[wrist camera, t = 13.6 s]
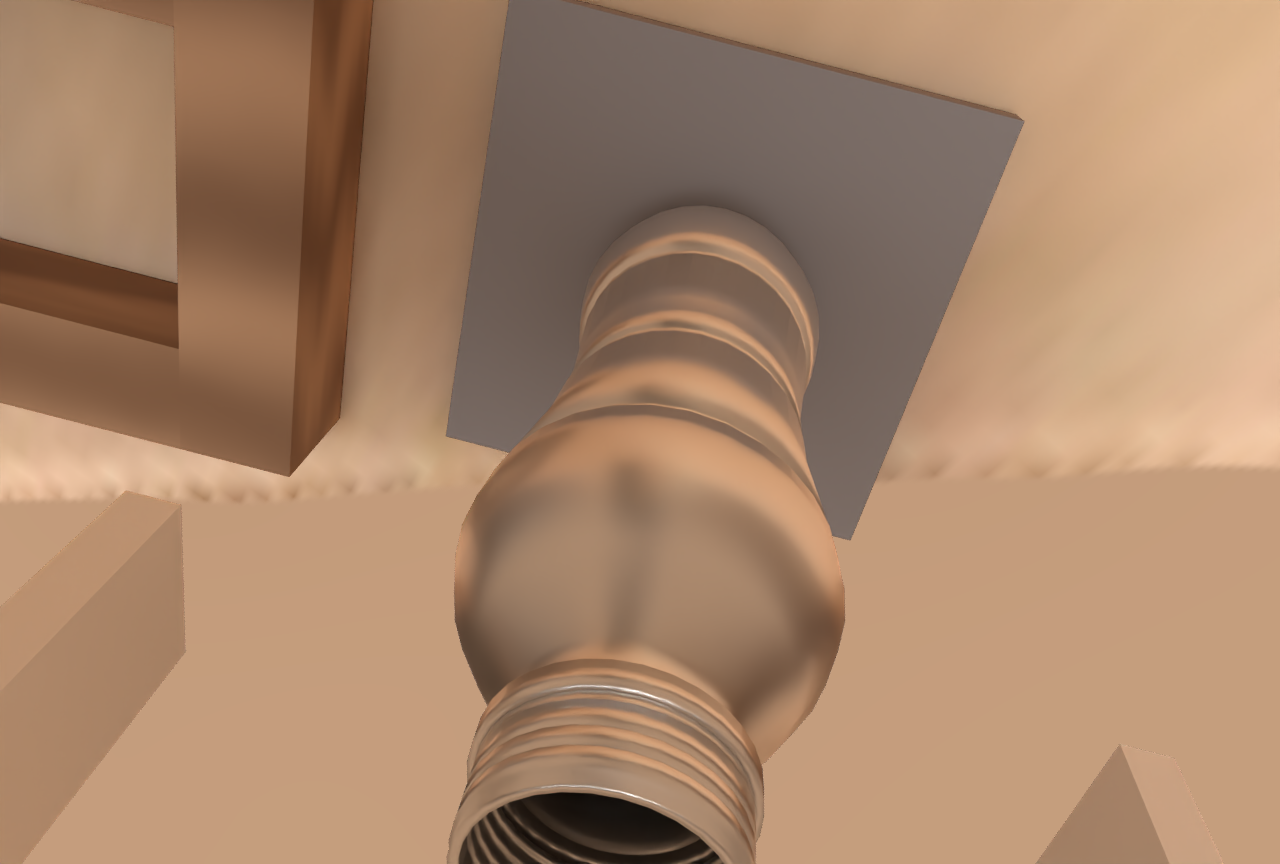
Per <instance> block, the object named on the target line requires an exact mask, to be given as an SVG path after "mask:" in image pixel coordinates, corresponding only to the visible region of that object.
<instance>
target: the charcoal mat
mask: <svg viewBox="0 0 1280 864" xmlns="http://www.w3.org/2000/svg"><path fill="white" fill-rule="evenodd" d="M1023 124H1024V121H1023V120H1022V119H1021V118H1020V117H1018V116H1017V115H1016V114H1012V113H1008V112H1004V111H1000V110H996V109H993V108H989V107H985V106H981V105H977V104H973V103H970V102H966V101H962V100H958V99H954V98H950V97H947V96H943V95H939V94H935V93H931V92H927V91H924V90H920V89H916V88H912V87H908V86H904V85H901V84H897V83H893V82H889V81H885V80H881V79H878V78H874V77H870V76H866V75H862V74H858V73H854V72H851V71H847V70H843V69H839V68H835V67H831V66H828V65H824V64H820V63H816V62H812V61H808V60H805V59H801V58H797V57H793V56H789V55H785V54H782V53H778V52H774V51H770V50H766V49H762V48H759V47H755V46H751V45H747V44H743V43H739V42H736V41H732V40H728V39H724V38H720V37H716V36H713V35H709V34H705V33H701V32H697V31H693V30H689V29H686V28H682V27H678V26H674V25H670V24H666V23H663V22H659V21H655V20H651V19H647V18H643V17H640V16H636V15H632V14H628V13H624V12H620V11H617V10H613V9H609V8H605V7H601V6H597V5H594V4H590V3H586V2H582V1H578V0H509V4H508V11H507V18H506V25H505V32H504V39H503V46H502V53H501V60H500V66H499V73H498V80H497V87H496V94H495V101H494V108H493V115H492V122H491V129H490V135H489V142H488V149H487V156H486V163H485V170H484V177H483V184H482V191H481V198H480V204H479V211H478V218H477V225H476V232H475V239H474V246H473V253H472V260H471V267H470V273H469V280H468V287H467V294H466V301H465V308H464V315H463V322H462V329H461V336H460V342H459V349H458V356H457V363H456V370H455V377H454V384H453V391H452V398H451V405H450V411H449V418H448V425H447V432H446V436H447V437H451V438H455V439H458V440H462V441H466V442H470V443H474V444H478V445H482V446H486V447H489V448H493V449H497V450H501V451H505V452H509V453H510V452H511V450H512V449H513V448H514V447H515V446H516V445H517V444H518V443H519V442H520V441H521V440H522V439H523V438H524V436H525V435H526V434H527V433H528V432H529V431H530V430H531V429H532V428H533V426H534V425H535V424H536V423H537V422H538V421H539V420H540V419H541V417H542V416H543V415H544V414H545V413H546V412H547V411H548V410H549V409H550V407H551V406H552V404H553V403H554V401H555V399H556V398H557V396H558V394H559V393H560V391H561V389H562V388H563V386H564V384H565V383H566V381H567V379H568V378H569V377H570V375H571V373H572V371H573V369H574V367H575V363H576V359H577V355H578V352H579V348H580V345H579V335H580V318H581V311H582V305H583V299H584V295H585V292H586V288H587V284H588V280H589V278H590V276H591V274H592V272H593V270H594V268H595V266H596V264H597V262H598V260H599V259H600V257H601V256H602V255H603V254H604V253H605V251H606V250H607V249H608V248H609V247H610V245H611V244H612V243H613V242H614V241H615V240H616V239H618V238H619V237H620V236H621V235H623V234H624V233H625V232H627V231H628V230H629V229H630V228H632V227H633V226H635V225H637V224H638V223H640V222H642V221H644V220H646V219H648V218H650V217H652V216H654V215H656V214H658V213H660V212H662V211H666V210H670V209H674V208H678V207H682V206H703V205H704V206H711V207H718V208H724V209H728V210H731V211H733V212H736V213H739V214H742V215H745V216H747V217H749V218H750V219H752V220H754V221H755V222H757V223H759V224H760V225H762V226H764V227H766V228H767V229H768V230H769V231H770V232H771V233H772V234H773V235H774V236H776V237H777V238H778V239H779V240H780V241H781V242H782V243H783V244H784V246H785V247H786V248H787V250H788V251H789V252H790V254H791V255H792V256H793V258H794V259H795V260H796V262H797V263H798V265H799V266H800V267H801V269H802V270H803V272H804V274H805V276H806V278H807V280H808V283H809V285H810V287H811V289H812V291H813V294H814V298H815V302H816V306H817V310H818V314H819V342H818V347H817V353H816V358H815V363H814V367H813V371H812V376H811V379H810V381H809V384H808V386H807V388H806V391H805V393H804V396H803V402H802V410H801V418H800V421H801V429H802V436H803V440H804V447H805V453H806V459H807V464H808V467H809V470H810V473H811V476H812V479H813V481H814V484H815V487H816V490H817V493H818V496H819V499H820V501H821V504H822V507H823V510H824V513H825V516H826V519H827V522H828V524H829V526H830V529H831V533H832V536H835V537H839V538H843V539H847V540H851V538H852V535H853V533H854V531H855V528H856V526H857V523H858V521H859V519H860V516H861V514H862V511H863V509H864V507H865V504H866V501H867V499H868V497H869V494H870V492H871V490H872V487H873V485H874V482H875V480H876V478H877V475H878V473H879V470H880V468H881V466H882V463H883V461H884V458H885V456H886V454H887V451H888V449H889V446H890V444H891V442H892V439H893V437H894V434H895V432H896V430H897V427H898V425H899V422H900V420H901V417H902V415H903V413H904V410H905V408H906V405H907V403H908V401H909V398H910V396H911V393H912V391H913V389H914V386H915V384H916V381H917V379H918V377H919V374H920V372H921V369H922V367H923V364H924V362H925V360H926V357H927V355H928V352H929V350H930V348H931V345H932V343H933V340H934V338H935V336H936V333H937V331H938V328H939V326H940V324H941V321H942V319H943V316H944V314H945V312H946V309H947V307H948V304H949V302H950V299H951V297H952V295H953V292H954V290H955V287H956V285H957V283H958V280H959V278H960V275H961V273H962V271H963V268H964V266H965V263H966V261H967V259H968V256H969V254H970V251H971V249H972V246H973V244H974V242H975V239H976V237H977V234H978V232H979V230H980V227H981V225H982V222H983V220H984V218H985V215H986V213H987V210H988V208H989V206H990V203H991V201H992V198H993V196H994V193H995V191H996V189H997V186H998V184H999V181H1000V179H1001V177H1002V174H1003V172H1004V169H1005V167H1006V165H1007V162H1008V160H1009V157H1010V155H1011V153H1012V150H1013V148H1014V145H1015V143H1016V141H1017V138H1018V136H1019V133H1020V131H1021V128H1022V126H1023Z"/></svg>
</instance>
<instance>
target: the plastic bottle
mask: <svg viewBox="0 0 1280 864" xmlns="http://www.w3.org/2000/svg"><path fill="white" fill-rule="evenodd" d="M818 342H819V314H818V310H817V306H816V302H815V298H814V294H813V291H812V289H811V287H810V285H809V283H808V280H807V278H806V276H805V274H804V272H803V270H802V269H801V267H800V266H799V265H798V263H797V262H796V260H795V259H794V258H793V256H792V255H791V254H790V252H789V251H788V250H787V248H786V247H785V246H784V244H783V243H782V242H781V241H780V240H779V239H778V238H777V237H776V236H774V235H773V234H772V233H771V232H770V231H769V230H768V229H767V228H766V227H764V226H762V225H760V224H759V223H757V222H755V221H754V220H752V219H750V218H749V217H747V216H745V215H742V214H739V213H736V212H733V211H731V210H728V209H724V208H718V207H711V206H704V205H703V206H682V207H678V208H674V209H670V210H666V211H662V212H660V213H658V214H656V215H654V216H652V217H650V218H648V219H646V220H644V221H642V222H640V223H638V224H637V225H635V226H633V227H632V228H630V229H629V230H628V231H627V232H625V233H624V234H623V235H621V236H620V237H619V238H618V239H616V240H615V241H614V242H613V243H612V244H611V245H610V247H609V248H608V249H607V250H606V251H605V253H604V254H603V255H602V256H601V257H600V259H599V260H598V262H597V264H596V266H595V268H594V270H593V272H592V274H591V276H590V278H589V280H588V284H587V288H586V292H585V295H584V299H583V305H582V311H581V318H580V335H579V345H580V348H579V352H578V355H577V359H576V363H575V367H574V369H573V371H572V373H571V375H570V377H569V378H568V379H567V381H566V383H565V384H564V386H563V388H562V389H561V391H560V393H559V394H558V396H557V398H556V399H555V401H554V403H553V404H552V406H551V407H550V409H549V410H548V411H547V412H546V413H545V414H544V415H543V416H542V417H541V419H540V420H539V421H538V422H537V423H536V424H535V425H534V426H533V428H532V429H531V430H530V431H529V432H528V433H527V434H526V435H525V436H524V438H523V439H522V440H521V441H520V442H519V443H518V444H517V445H516V446H515V447H514V448H513V449H512V450H511V452H510V453H509V454H508V455H507V456H506V457H505V458H504V460H503V461H502V462H501V463H500V464H499V465H498V466H497V468H496V469H495V470H494V471H493V473H492V474H491V476H490V477H489V479H488V480H487V482H486V484H485V485H484V486H483V488H482V489H481V491H480V492H479V493H478V495H477V496H476V498H475V500H474V502H473V504H472V506H471V508H470V510H469V512H468V514H467V516H466V518H465V520H464V522H463V524H462V528H461V532H460V537H459V541H458V545H457V550H456V556H455V582H454V606H455V623H456V627H457V631H458V635H459V639H460V643H461V646H462V650H463V652H464V655H465V657H466V659H467V662H468V664H469V667H470V669H471V671H472V674H473V676H474V679H475V681H476V683H477V686H478V688H479V690H480V692H481V694H482V696H483V698H484V700H485V702H486V704H487V708H486V709H485V711H484V713H483V714H482V716H481V718H480V721H479V724H478V727H477V730H476V733H475V736H474V739H473V742H472V745H471V749H470V753H469V757H468V760H467V785H466V788H465V791H464V794H463V797H462V800H461V803H460V806H459V809H458V812H457V814H456V817H455V820H454V823H453V827H452V831H451V835H450V838H449V850H448V854H447V864H756V842H757V840H758V838H759V836H760V833H761V828H762V823H763V818H764V783H763V769H762V764H763V763H765V762H766V761H767V760H768V759H769V758H770V757H771V756H772V755H773V754H774V753H775V752H776V751H777V750H778V749H779V748H780V746H781V745H782V744H783V743H784V742H785V741H786V740H787V739H788V738H789V737H790V736H791V735H792V734H793V733H794V731H795V730H796V729H797V728H798V727H799V726H800V724H802V722H803V721H804V720H805V719H806V718H807V716H808V715H809V714H810V713H811V712H812V711H813V709H814V707H815V705H816V703H817V701H818V699H819V697H820V695H821V693H822V691H823V690H824V688H825V686H826V683H827V680H828V678H829V675H830V672H831V669H832V667H833V664H834V661H835V658H836V655H837V653H838V649H839V645H840V641H841V636H842V632H843V628H844V623H845V590H844V585H843V580H842V576H841V572H840V566H839V561H838V556H837V553H836V548H835V545H834V541H833V537H832V533H831V529H830V526H829V524H828V522H827V519H826V516H825V513H824V510H823V507H822V504H821V501H820V499H819V496H818V493H817V490H816V487H815V484H814V481H813V479H812V476H811V473H810V470H809V467H808V464H807V459H806V453H805V447H804V440H803V436H802V429H801V421H800V418H801V410H802V402H803V396H804V393H805V391H806V388H807V386H808V384H809V381H810V379H811V376H812V371H813V367H814V363H815V358H816V353H817V347H818Z"/></svg>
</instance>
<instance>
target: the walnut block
mask: <svg viewBox="0 0 1280 864" xmlns="http://www.w3.org/2000/svg"><path fill="white" fill-rule="evenodd" d="M73 1H77V2H81V3H85V4H88V5H92V6H96V7H100V8H104V9H108V10H112V11H115V12H119V13H123V14H127V15H131V16H135V17H139V18H142V19H146V20H150V21H154V22H158V23H162V24H165V25H169V26H173V27H174V71H175V135H176V200H177V264H178V284H175V283H171V282H167V281H163V280H159V279H155V278H151V277H148V276H144V275H140V274H136V273H132V272H128V271H124V270H120V269H117V268H113V267H109V266H105V265H101V264H97V263H93V262H89V261H86V260H82V259H78V258H74V257H70V256H66V255H62V254H58V253H55V252H51V251H47V250H43V249H39V248H35V247H31V246H27V245H24V244H20V243H16V242H12V241H8V240H4V239H0V403H4V404H8V405H12V406H15V407H19V408H23V409H27V410H31V411H35V412H39V413H43V414H47V415H50V416H54V417H58V418H62V419H66V420H70V421H74V422H78V423H82V424H85V425H89V426H93V427H97V428H101V429H105V430H109V431H113V432H117V433H120V434H124V435H128V436H132V437H136V438H140V439H144V440H148V441H152V442H155V443H159V444H163V445H167V446H171V447H175V448H179V449H183V450H187V451H190V452H194V453H198V454H202V455H206V456H210V457H214V458H218V459H222V460H225V461H229V462H233V463H237V464H241V465H245V466H249V467H253V468H257V469H260V470H264V471H268V472H272V473H276V474H280V475H284V476H288V477H290V476H291V474H292V473H293V472H294V471H295V470H296V469H297V467H298V466H299V465H300V464H301V463H302V462H303V460H304V459H305V458H306V457H307V456H308V455H309V453H310V452H311V451H312V450H313V449H314V448H315V446H316V445H317V444H318V443H319V442H320V441H321V439H322V438H323V437H324V436H325V435H326V434H327V432H328V431H329V430H330V429H331V428H332V427H333V425H334V424H335V423H336V422H337V421H338V420H339V418H340V408H341V395H342V383H343V370H344V358H345V345H346V333H347V320H348V308H349V295H350V283H351V270H352V257H353V245H354V232H355V220H356V207H357V195H358V182H359V170H360V157H361V145H362V132H363V120H364V107H365V95H366V82H367V70H368V57H369V45H370V32H371V20H372V7H373V0H73Z"/></svg>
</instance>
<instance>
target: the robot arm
mask: <svg viewBox="0 0 1280 864" xmlns="http://www.w3.org/2000/svg"><path fill="white" fill-rule="evenodd" d="M184 618H185V617H184V583H183V547H182V513H181V504H177V503H173V502H169V501H165V500H161V499H157V498H153V497H149V496H145V495H141V494H137V493H134V492H130V491H125V492H124V493H123V494H122V495H121V496H120V497H119V498H117V499H116V500H115V501H114V502H113V503H112V504H111V505H110V506H109V507H108V508H107V509H106V510H104V511H103V513H101V514H100V515H99V516H98V517H97V518H96V519H95V520H94V521H93V522H92V523H90V525H88V526H87V527H86V528H85V529H84V530H83V531H82V532H81V533H80V534H78V536H76V537H75V538H74V539H73V540H72V541H71V542H70V543H69V544H68V545H67V546H65V548H63V549H62V550H61V551H60V552H59V553H58V554H57V555H56V556H55V557H54V558H53V559H51V560H50V561H49V562H48V563H47V564H46V565H45V566H44V567H43V568H42V569H41V570H39V571H38V572H37V573H36V574H35V575H34V576H33V577H32V578H31V579H30V580H29V581H28V582H26V583H25V584H24V585H23V586H22V587H21V588H20V589H19V590H18V591H17V592H16V593H15V594H14V595H12V596H11V597H10V598H9V599H8V600H7V601H6V602H5V603H4V604H3V605H2V606H0V864H22V863H23V862H24V860H25V859H26V858H27V856H28V855H29V854H30V853H31V851H32V850H33V849H34V847H35V846H36V845H37V844H38V842H39V841H40V840H41V838H42V837H43V836H44V835H45V833H46V832H47V831H48V829H49V828H50V827H51V825H52V824H53V823H54V822H55V820H56V819H57V817H58V816H59V815H60V814H61V812H62V811H63V810H64V809H65V807H66V806H67V805H68V803H69V802H70V801H71V799H72V798H73V797H74V796H75V794H76V793H77V792H78V791H79V789H80V788H81V787H82V785H83V784H84V783H85V781H86V780H87V779H88V777H89V776H90V775H91V774H92V772H93V771H94V770H95V769H96V767H97V766H98V765H99V763H100V762H101V761H102V759H103V758H104V757H105V755H106V754H107V753H108V752H109V750H110V749H111V748H112V747H113V745H114V744H115V743H116V741H117V740H118V739H119V737H120V736H121V735H122V733H123V732H124V731H125V730H126V728H127V727H128V726H129V725H130V723H131V722H132V721H133V719H134V718H135V717H136V715H137V714H138V713H139V712H140V710H141V709H142V708H143V706H144V705H145V704H146V702H147V701H148V700H149V699H150V697H151V696H152V695H153V693H154V692H155V691H156V690H157V688H158V687H159V686H160V684H161V683H162V682H163V681H164V679H165V678H166V676H167V675H168V674H169V673H170V672H171V670H172V669H173V668H174V666H175V665H176V664H177V662H178V661H179V660H180V659H181V657H182V656H183V655H184V653H185V620H184ZM1036 864H1224V863H1223V860H1222V858H1221V856H1220V854H1219V852H1218V850H1217V848H1216V846H1215V843H1214V841H1213V839H1212V837H1211V835H1210V833H1209V831H1208V829H1207V826H1206V824H1205V822H1204V820H1203V818H1202V816H1201V814H1200V812H1199V809H1198V807H1197V805H1196V803H1195V801H1194V799H1193V797H1192V795H1191V792H1190V790H1189V788H1188V786H1187V784H1186V782H1185V780H1184V778H1183V776H1182V773H1181V771H1180V769H1179V767H1178V765H1177V763H1176V761H1175V758H1173V757H1169V756H1166V755H1161V754H1158V753H1154V752H1150V751H1146V750H1142V749H1138V748H1134V747H1130V746H1126V745H1122V744H1119V746H1118V747H1117V749H1116V750H1115V752H1114V753H1113V754H1112V756H1111V757H1110V759H1109V760H1108V762H1107V763H1106V764H1105V766H1104V767H1103V769H1102V770H1101V772H1100V773H1099V774H1098V776H1097V777H1096V779H1095V780H1094V781H1093V783H1092V784H1091V786H1090V787H1089V789H1088V790H1087V791H1086V793H1085V794H1084V796H1083V797H1082V799H1081V800H1080V802H1079V803H1078V804H1077V806H1076V807H1075V809H1074V810H1073V812H1072V813H1071V814H1070V816H1069V817H1068V819H1067V820H1066V821H1065V823H1064V824H1063V826H1062V827H1061V829H1060V830H1059V831H1058V833H1057V834H1056V836H1055V837H1054V839H1053V840H1052V842H1051V843H1050V844H1049V846H1048V847H1047V849H1046V850H1045V851H1044V853H1043V854H1042V856H1041V857H1040V859H1039V860H1038V861H1037V863H1036Z"/></svg>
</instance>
